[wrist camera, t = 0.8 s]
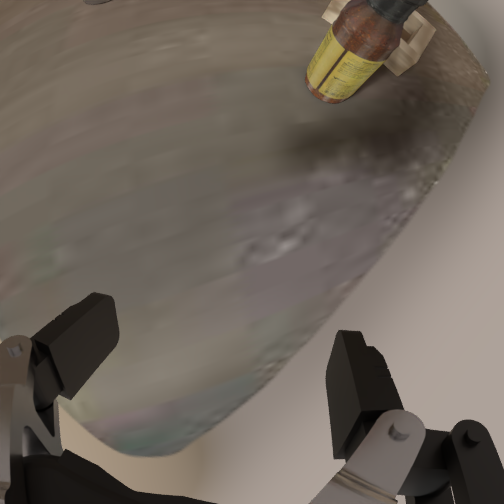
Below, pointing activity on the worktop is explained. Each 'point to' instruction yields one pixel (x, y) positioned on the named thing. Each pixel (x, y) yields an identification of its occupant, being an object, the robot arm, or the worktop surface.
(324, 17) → the socket block
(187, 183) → the worktop surface
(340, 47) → the sauce bottle
